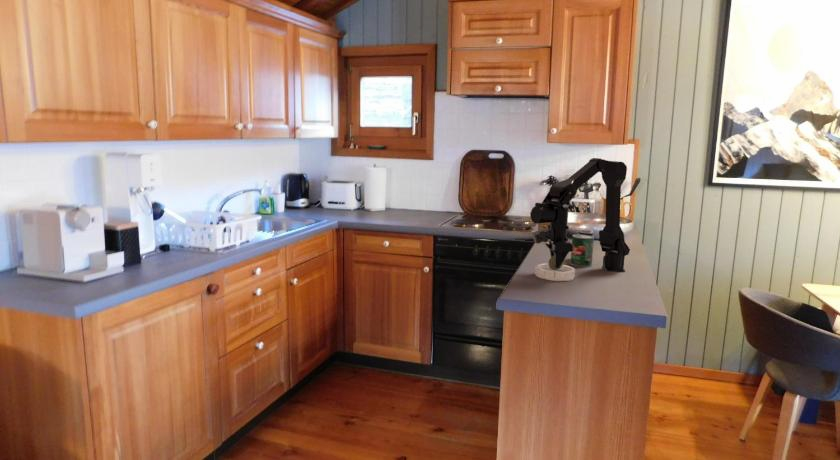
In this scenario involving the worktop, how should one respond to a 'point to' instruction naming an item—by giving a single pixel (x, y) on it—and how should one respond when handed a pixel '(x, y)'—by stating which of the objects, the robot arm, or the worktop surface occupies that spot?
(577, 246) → the canned tomato
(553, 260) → the lime
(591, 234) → the beverage can
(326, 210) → the worktop surface
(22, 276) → the worktop surface
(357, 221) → the worktop surface
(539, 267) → the ceramic dish
